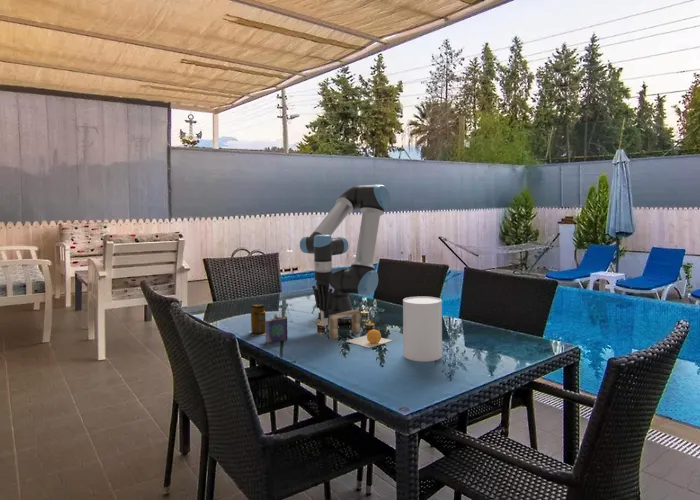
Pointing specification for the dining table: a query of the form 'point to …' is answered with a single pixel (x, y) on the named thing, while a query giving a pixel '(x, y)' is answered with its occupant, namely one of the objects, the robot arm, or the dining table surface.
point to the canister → (422, 328)
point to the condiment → (258, 320)
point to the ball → (374, 336)
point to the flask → (276, 329)
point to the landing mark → (364, 341)
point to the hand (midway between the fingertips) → (324, 325)
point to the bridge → (333, 318)
